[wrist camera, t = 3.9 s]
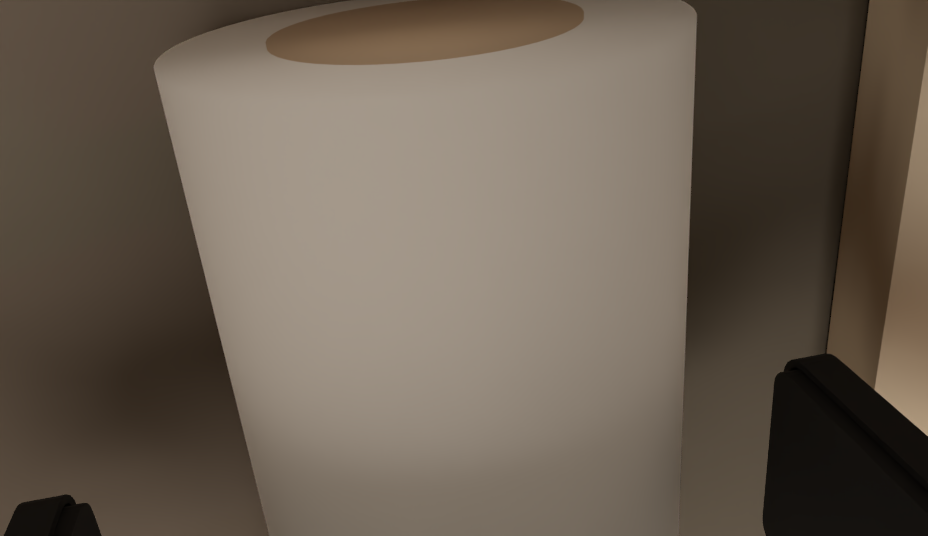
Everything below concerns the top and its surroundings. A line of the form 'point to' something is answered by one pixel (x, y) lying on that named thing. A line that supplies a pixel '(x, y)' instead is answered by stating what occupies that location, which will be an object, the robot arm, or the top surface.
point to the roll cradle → (888, 215)
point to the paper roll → (448, 258)
